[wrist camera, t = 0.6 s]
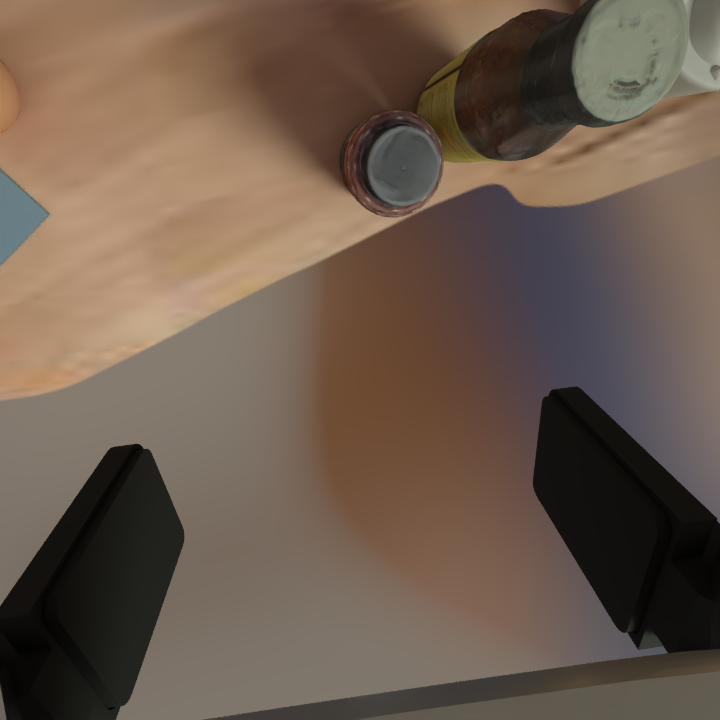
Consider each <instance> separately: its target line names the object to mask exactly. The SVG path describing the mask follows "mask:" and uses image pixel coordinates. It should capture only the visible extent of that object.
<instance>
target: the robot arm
mask: <svg viewBox="0 0 720 720" xmlns="http://www.w3.org/2000/svg"><path fill="white" fill-rule="evenodd" d="M533 487H534V491H535V493H536V496H537V497H538V499H539V501H540V502H541V504H542V506H543V507H544V509H545V511H546V512H547V514H548V516H549V517H550V519H551V520H552V522H553V523H554V525H555V527H556V529H557V530H558V532H559V534H560V535H561V537H562V538H563V540H564V542H565V544H566V545H567V547H568V548H569V550H570V552H571V553H572V555H573V557H574V558H575V560H576V561H577V563H578V565H579V567H580V568H581V570H582V572H583V573H584V575H585V576H586V578H587V580H588V581H589V583H590V585H591V586H592V588H593V590H594V591H595V593H596V595H597V596H598V598H599V600H600V601H601V603H602V604H603V606H604V608H605V609H606V611H607V613H608V614H609V616H610V617H611V619H612V621H613V623H614V624H615V625H616V627H617V628H618V629H619V630H620V631H621V632H623V633H625V632H627V633H628V634H629V636H630V637H631V639H632V641H633V642H634V644H635V645H636V647H637V649H638V650H640V649H647V648H653V647H660V646H664V648H665V649H666V651H667V652H668V653H667V654H659V655H651V656H643V657H635V658H626V659H618V660H610V661H602V662H594V663H586V664H580V665H572V666H565V667H558V668H551V669H544V670H537V671H530V672H523V673H516V674H509V675H502V676H495V677H488V678H480V679H473V680H467V681H459V682H453V683H446V684H439V685H432V686H425V687H418V688H411V689H404V690H398V691H391V692H384V693H378V694H371V695H364V696H357V697H350V698H343V699H337V700H330V701H323V702H316V703H310V704H303V705H297V706H289V707H283V708H276V709H270V710H263V711H257V712H250V713H243V714H237V715H230V716H224V717H217V718H211V719H204V720H720V523H718V522H717V518H716V517H715V516H714V515H713V514H712V513H711V512H710V511H709V510H708V509H707V508H706V507H705V506H704V505H702V504H701V503H700V502H699V501H698V500H697V499H696V498H695V497H694V496H693V495H692V494H691V493H690V492H689V491H688V490H687V489H686V488H685V487H684V486H682V485H681V484H680V483H679V482H678V481H677V480H676V479H675V478H674V477H673V476H672V475H671V474H670V473H669V472H667V470H666V469H665V468H664V467H663V466H661V465H660V464H659V463H658V462H657V461H656V460H655V459H654V458H653V457H652V456H651V455H650V454H649V453H648V452H647V451H646V450H645V449H643V447H641V446H640V445H639V444H638V443H637V442H636V441H635V440H634V439H633V438H632V437H631V436H630V435H629V434H628V433H627V432H626V431H625V430H624V429H623V428H621V427H620V426H619V425H618V424H617V423H616V422H615V421H614V420H613V419H612V418H611V417H610V416H609V415H608V414H607V413H606V412H605V411H604V410H603V409H602V408H600V407H599V406H598V405H597V404H596V403H595V402H594V401H593V400H592V399H591V398H590V397H589V396H588V395H587V394H586V393H585V392H583V390H582V389H580V388H579V387H568V388H561V389H553V390H551V391H550V393H549V396H546V397H544V398H543V401H542V407H541V417H540V425H539V433H538V442H537V450H536V459H535V467H534V476H533ZM183 543H184V530H183V527H182V524H181V522H180V520H179V517H178V515H177V513H176V510H175V508H174V505H173V503H172V500H171V498H170V496H169V493H168V491H167V489H166V486H165V484H164V482H163V479H162V477H161V474H160V472H159V470H158V467H157V465H156V463H155V460H154V458H153V456H152V453H151V451H150V450H149V449H143V447H142V446H141V445H140V444H132V445H125V446H117V447H112V448H110V449H109V450H108V451H107V453H106V454H105V456H104V457H103V459H102V460H101V462H100V463H99V465H98V466H97V468H96V469H95V470H94V472H93V473H92V475H91V476H90V477H89V479H88V480H87V482H86V483H85V485H84V486H83V488H82V489H81V490H80V492H79V493H78V495H77V496H76V498H75V499H74V501H73V502H72V503H71V505H70V506H69V508H68V509H67V511H66V512H65V514H64V515H63V517H62V518H61V519H60V521H59V522H58V524H57V525H56V527H55V528H54V529H53V531H52V532H51V534H50V535H49V537H48V538H47V540H46V541H45V542H44V544H43V545H42V547H41V548H40V550H39V551H38V552H37V554H36V555H35V557H34V558H33V560H32V561H31V563H30V564H29V565H28V567H27V568H26V570H25V571H24V573H23V574H22V576H21V577H20V579H19V580H18V581H17V583H16V584H15V586H14V587H13V588H12V590H11V591H10V593H9V594H8V596H7V597H6V599H5V600H4V602H3V603H2V604H1V606H0V720H116V718H117V715H118V712H119V709H120V706H124V705H125V704H126V703H127V702H128V700H129V699H130V697H131V694H132V692H133V689H134V686H135V683H136V680H137V677H138V674H139V671H140V668H141V666H142V663H143V660H144V657H145V654H146V651H147V648H148V645H149V642H150V640H151V637H152V634H153V631H154V628H155V625H156V622H157V619H158V616H159V613H160V611H161V607H162V604H163V601H164V599H165V596H166V593H167V590H168V587H169V584H170V581H171V579H172V575H173V572H174V570H175V566H176V564H177V561H178V558H179V555H180V552H181V549H182V547H183Z"/></svg>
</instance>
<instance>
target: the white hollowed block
mask: <svg viewBox="0 0 720 720" xmlns="http://www.w3.org/2000/svg"><path fill="white" fill-rule="evenodd" d="M586 1H587V0H580V7H581V6H582V5H583V4H584V3H585V2H586ZM683 1H684V5H685V9H686V13H687V18H688V30H689V39H688V45H687V50H686V55H685V59H684V63H683V66H682V68H681V70H680V73H679V75H678V77H677V79H676V81H675V82H674V84H673V85H672V87H671V88H670V90H669V91H668V92H667V93H666V94H665V95H664V96H663V97H662V98H661V99H664V98H671V97H678V96H683V95H690V94H697V93H703V92H710V91H717V90H720V0H683Z"/></svg>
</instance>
